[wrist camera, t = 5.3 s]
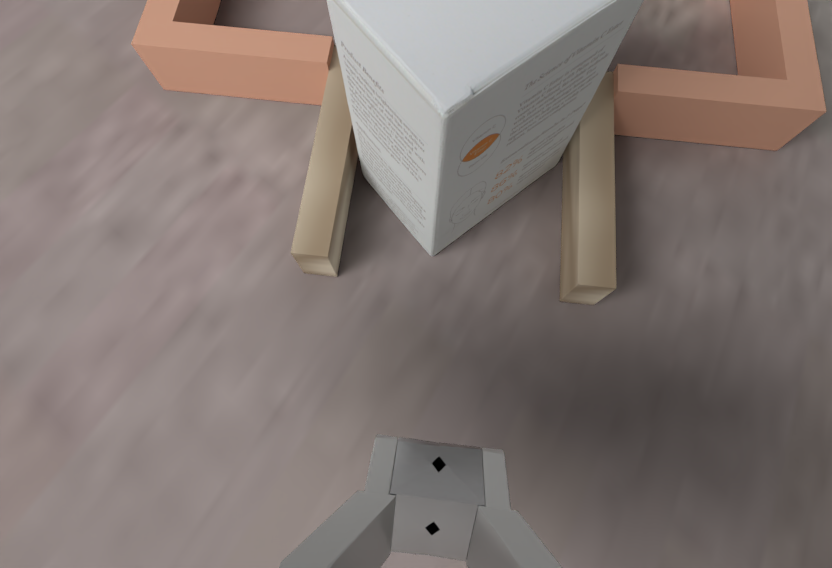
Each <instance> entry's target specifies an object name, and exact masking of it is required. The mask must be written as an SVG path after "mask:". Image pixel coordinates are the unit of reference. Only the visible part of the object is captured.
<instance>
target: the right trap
mask: <svg viewBox="0 0 832 568" xmlns="http://www.w3.org/2000/svg"><path fill="white" fill-rule="evenodd" d="M730 7H731V16H732V25H733V34H734V43H735V52H736V61H737V70H738V75H730V74H719V73H709V72H698V71H688V70H677V69H667V68H656V67H646V66H635V65H625V64H617V66H616V68H615V70H614V72H613V78H614V135H623V136H633V137H643V138H653V139H663V140H673V141H683V142H693V143H703V144H713V145H723V146H733V147H743V148H753V149H763V150H773V151H777V150H779V149H780V148H781V147H782V146H784V145H785V144H786V143H787V142H789V141H790V140H791V139H792V138H794V137H795V136H796V135H798V134H799V133H800V132H801V131H803V130H804V129H805V128H806V127H808V126H809V125H810V124H811V123H813V122H814V121H815V120H816V119H818V118H819V117H820V116H822V115H823V114H824V113H825V112H827V111H826V105H825V100H824V94H823V88H822V83H821V77H820V71H819V65H818V60H817V54H816V48H815V42H814V37H813V31H812V25H811V20H810V14H809V8H808V2H807V0H730Z"/></svg>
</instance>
